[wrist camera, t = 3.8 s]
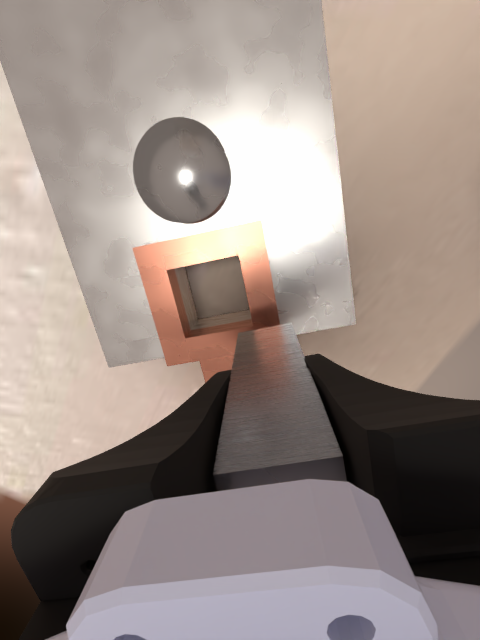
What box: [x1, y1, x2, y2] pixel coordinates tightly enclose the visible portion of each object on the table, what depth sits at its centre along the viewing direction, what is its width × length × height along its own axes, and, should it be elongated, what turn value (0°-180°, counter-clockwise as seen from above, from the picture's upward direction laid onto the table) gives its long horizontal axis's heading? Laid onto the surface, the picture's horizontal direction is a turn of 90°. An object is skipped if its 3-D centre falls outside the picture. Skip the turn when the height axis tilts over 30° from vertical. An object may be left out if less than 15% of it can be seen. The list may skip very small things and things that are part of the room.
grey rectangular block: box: [213, 322, 347, 491], centre depth 11 cm, size 3×3×9 cm
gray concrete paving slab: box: [0, 0, 356, 383], centre depth 18 cm, size 16×25×4 cm, turn 12°
